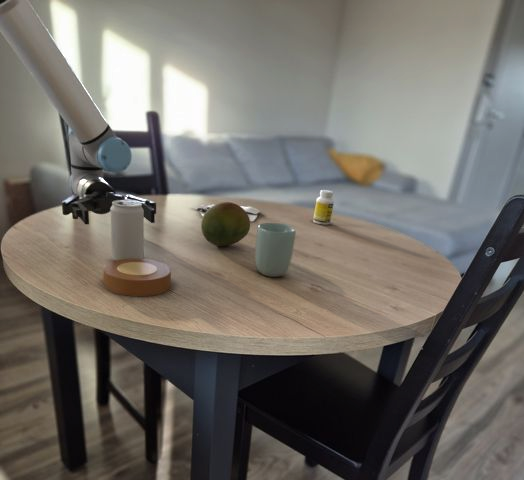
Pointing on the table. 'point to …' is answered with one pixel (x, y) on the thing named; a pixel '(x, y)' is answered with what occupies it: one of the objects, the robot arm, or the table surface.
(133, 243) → the beverage can
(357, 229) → the table surface
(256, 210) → the cloth
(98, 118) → the robot arm
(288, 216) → the table surface
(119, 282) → the brown round flat disc
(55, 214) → the table surface
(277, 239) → the cup
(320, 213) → the supplement bottle
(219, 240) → the fruit
